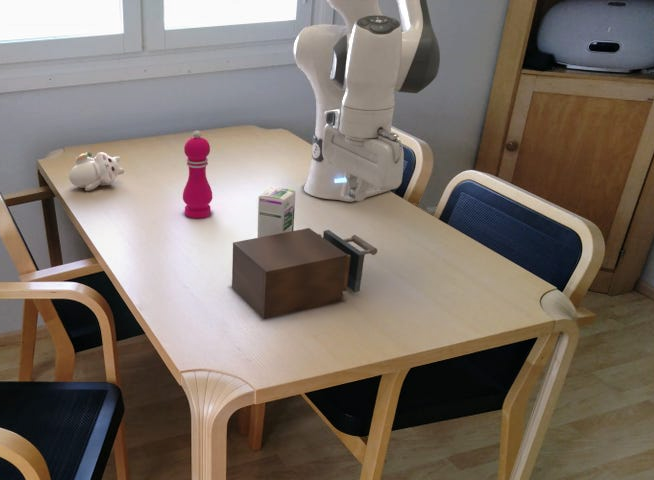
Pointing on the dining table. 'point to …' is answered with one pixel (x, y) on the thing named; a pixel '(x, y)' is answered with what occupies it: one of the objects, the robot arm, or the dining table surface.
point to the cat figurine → (94, 171)
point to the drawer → (351, 257)
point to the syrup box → (276, 212)
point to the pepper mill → (197, 178)
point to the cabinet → (288, 272)
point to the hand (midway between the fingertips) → (355, 198)
